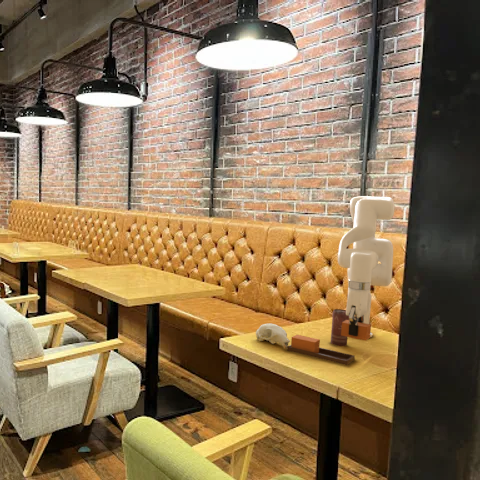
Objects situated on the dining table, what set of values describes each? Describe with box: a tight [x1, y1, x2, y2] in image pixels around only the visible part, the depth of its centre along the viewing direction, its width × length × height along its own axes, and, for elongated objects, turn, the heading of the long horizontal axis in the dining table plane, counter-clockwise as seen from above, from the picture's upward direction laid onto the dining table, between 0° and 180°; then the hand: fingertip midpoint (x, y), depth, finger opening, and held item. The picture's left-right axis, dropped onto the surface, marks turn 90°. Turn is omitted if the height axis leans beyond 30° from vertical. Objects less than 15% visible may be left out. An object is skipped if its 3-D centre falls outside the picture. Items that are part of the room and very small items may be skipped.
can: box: [330, 308, 349, 347], centre depth 193 cm, size 6×6×14 cm
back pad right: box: [341, 320, 372, 341], centre depth 180 cm, size 5×9×5 cm, turn 51°
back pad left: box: [290, 334, 321, 353], centre depth 182 cm, size 5×9×5 cm, turn 51°
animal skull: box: [255, 322, 291, 350], centre depth 190 cm, size 10×16×10 cm, turn 16°
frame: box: [286, 344, 356, 366], centre depth 179 cm, size 8×22×2 cm, turn 51°
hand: (355, 333), depth 180 cm, fingers closed on back pad right, 5 cm apart
